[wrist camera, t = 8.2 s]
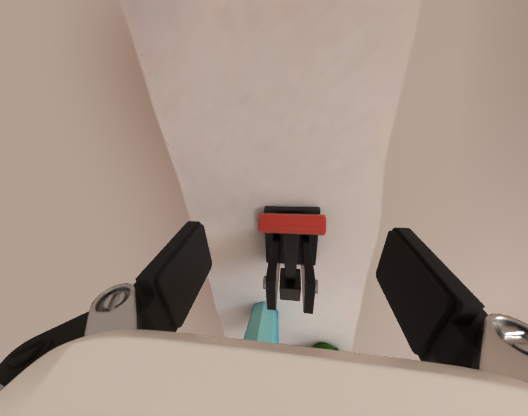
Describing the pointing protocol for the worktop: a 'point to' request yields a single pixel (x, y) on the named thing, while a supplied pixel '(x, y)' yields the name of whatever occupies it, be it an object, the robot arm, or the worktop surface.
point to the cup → (263, 324)
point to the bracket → (304, 258)
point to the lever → (291, 244)
